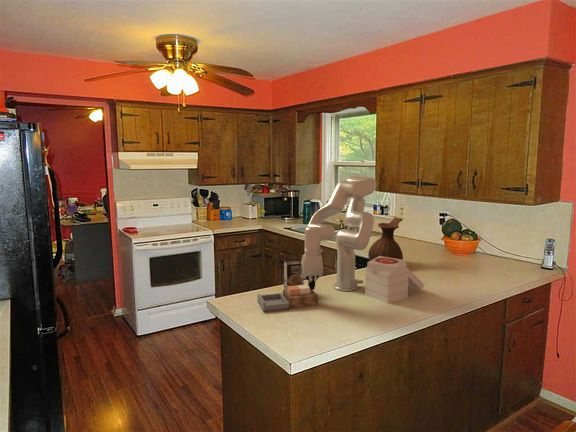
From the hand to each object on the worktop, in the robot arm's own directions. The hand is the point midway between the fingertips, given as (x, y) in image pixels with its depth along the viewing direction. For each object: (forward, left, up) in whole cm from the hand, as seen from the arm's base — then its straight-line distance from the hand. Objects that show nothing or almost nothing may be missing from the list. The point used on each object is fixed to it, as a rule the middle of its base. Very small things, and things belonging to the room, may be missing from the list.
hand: (311, 288), depth 199 cm
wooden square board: (+6, 0, -6) cm, 9 cm away
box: (+19, 0, -6) cm, 20 cm away
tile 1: (+9, 0, -1) cm, 9 cm away
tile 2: (+4, 0, -1) cm, 4 cm away
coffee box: (+5, -14, -7) cm, 16 cm away
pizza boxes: (-44, +1, -7) cm, 45 cm away
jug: (-65, -46, -7) cm, 80 cm away
